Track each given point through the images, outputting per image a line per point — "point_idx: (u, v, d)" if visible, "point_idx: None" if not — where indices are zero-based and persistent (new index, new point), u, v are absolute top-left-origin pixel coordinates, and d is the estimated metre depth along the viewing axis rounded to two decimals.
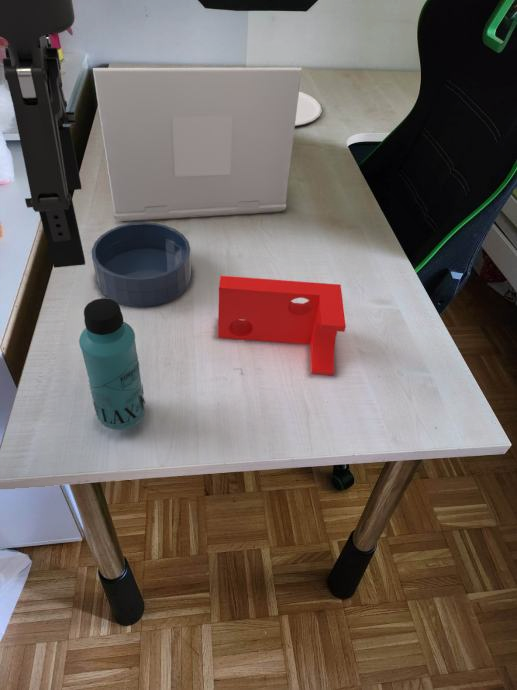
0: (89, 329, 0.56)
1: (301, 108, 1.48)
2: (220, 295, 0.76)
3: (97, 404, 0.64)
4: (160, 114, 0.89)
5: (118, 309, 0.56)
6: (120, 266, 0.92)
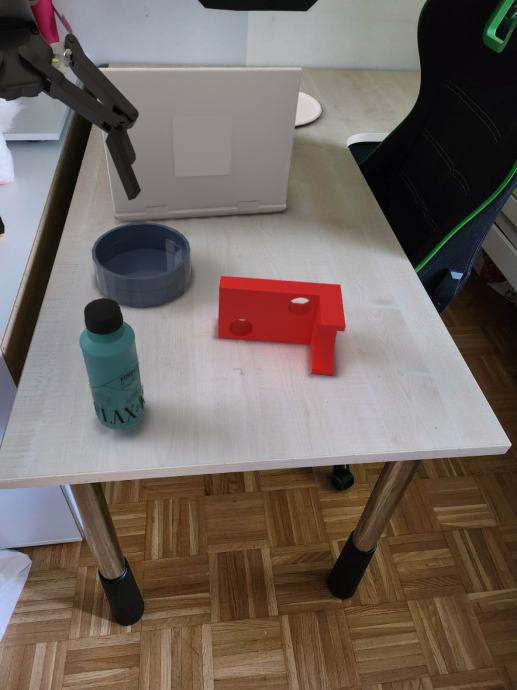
0: (89, 329, 0.56)
1: (301, 108, 1.48)
2: (220, 295, 0.76)
3: (97, 404, 0.64)
4: (160, 114, 0.89)
5: (118, 309, 0.56)
6: (120, 266, 0.92)
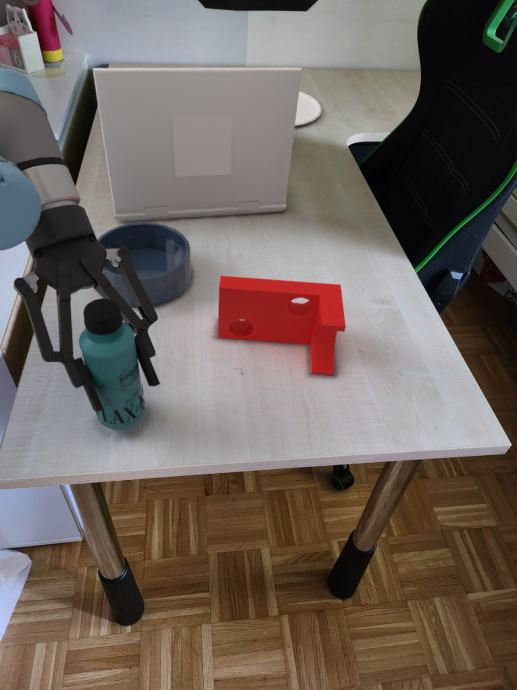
0: (89, 329, 0.56)
1: (301, 108, 1.48)
2: (220, 295, 0.76)
3: None
4: (160, 114, 0.89)
5: (118, 309, 0.56)
6: None
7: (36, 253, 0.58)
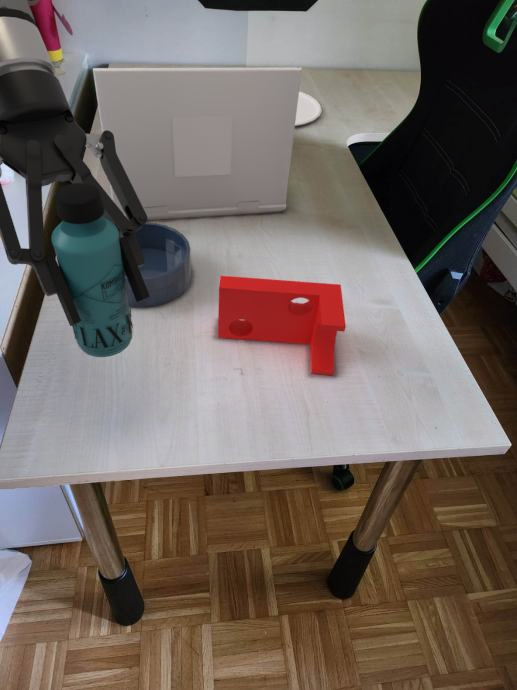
0: (62, 217, 0.46)
1: (301, 108, 1.48)
2: (220, 295, 0.76)
3: None
4: (160, 114, 0.89)
5: (97, 193, 0.46)
6: None
7: (0, 128, 0.48)
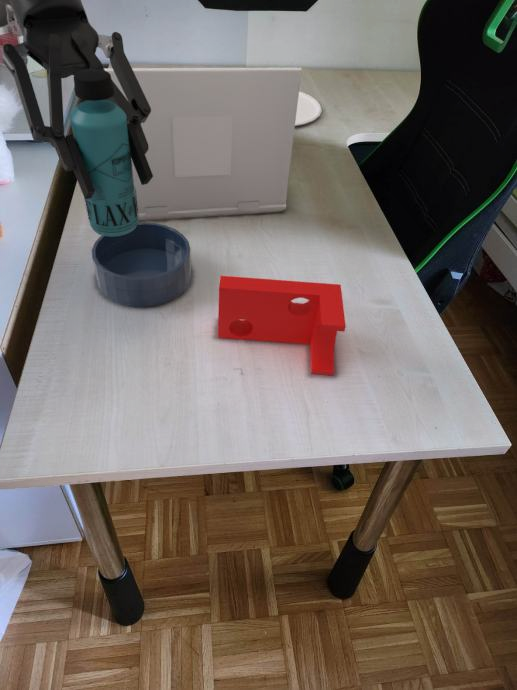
0: (79, 95, 0.55)
1: (301, 108, 1.48)
2: (220, 295, 0.76)
3: (89, 201, 0.63)
4: (160, 114, 0.89)
5: (109, 75, 0.55)
6: (120, 266, 0.92)
7: (26, 23, 0.56)
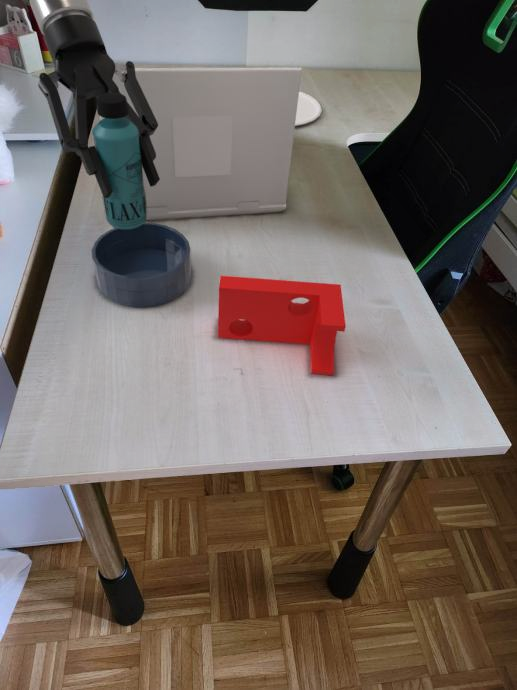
0: (101, 114, 0.68)
1: (301, 108, 1.48)
2: (220, 295, 0.76)
3: (107, 200, 0.76)
4: (160, 114, 0.89)
5: (125, 98, 0.68)
6: (120, 266, 0.92)
7: (57, 56, 0.70)
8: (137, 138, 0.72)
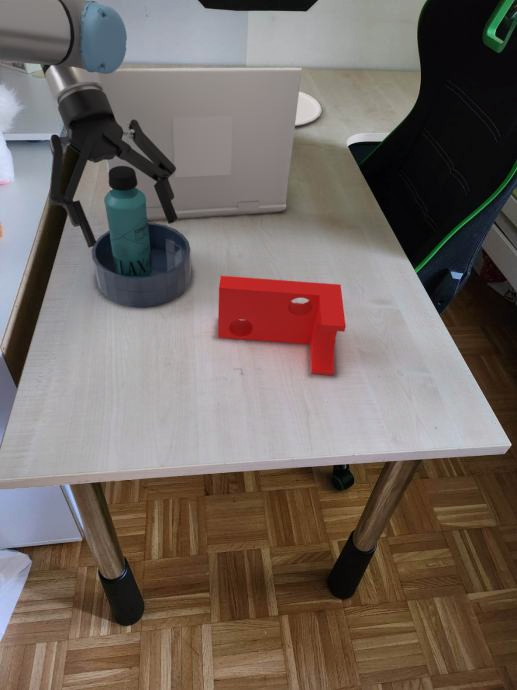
0: (112, 186, 0.75)
1: (301, 108, 1.48)
2: (220, 295, 0.76)
3: (116, 258, 0.84)
4: (160, 115, 0.89)
5: (134, 172, 0.76)
6: None
7: (70, 125, 0.76)
8: (144, 205, 0.79)
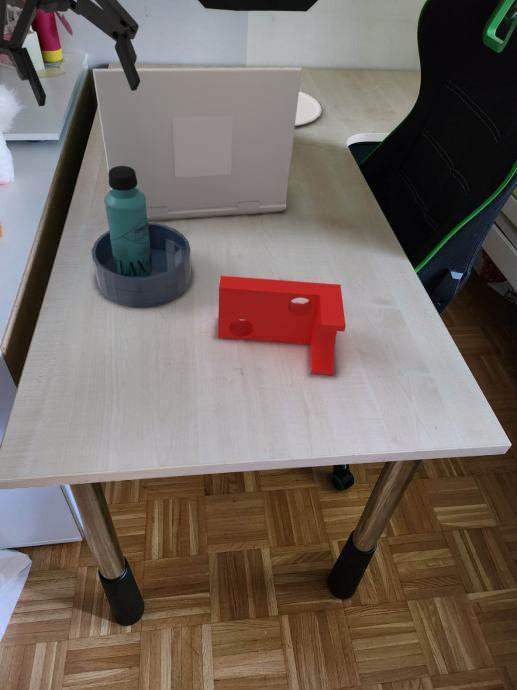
0: (112, 186, 0.75)
1: (301, 108, 1.48)
2: (220, 295, 0.76)
3: (116, 258, 0.84)
4: (160, 115, 0.89)
5: (134, 172, 0.76)
6: None
7: None
8: (144, 205, 0.79)
